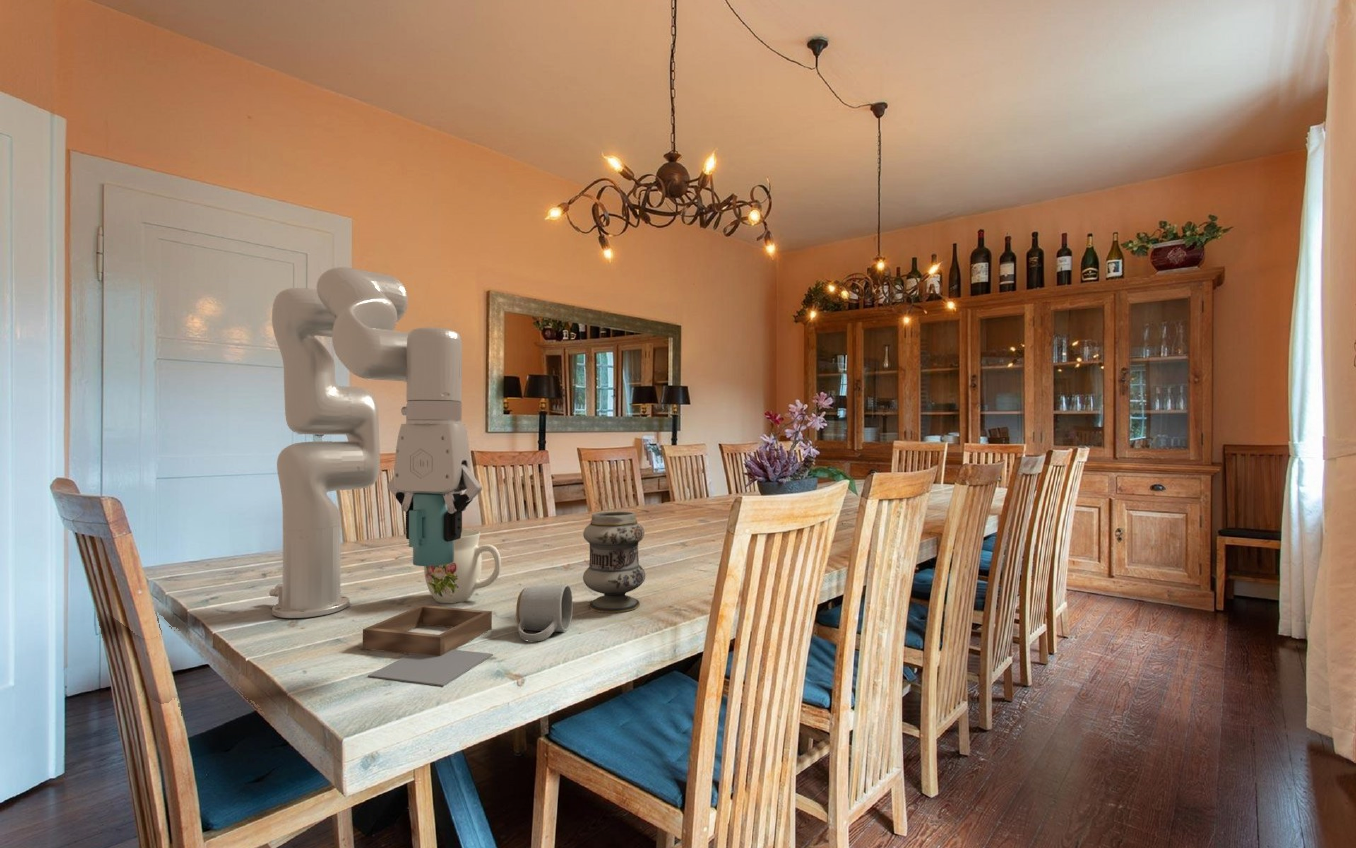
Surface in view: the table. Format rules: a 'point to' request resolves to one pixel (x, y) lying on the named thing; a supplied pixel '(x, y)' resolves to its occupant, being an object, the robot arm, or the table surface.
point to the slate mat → (431, 667)
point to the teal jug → (429, 531)
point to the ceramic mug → (544, 610)
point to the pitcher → (461, 570)
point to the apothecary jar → (614, 560)
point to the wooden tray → (398, 640)
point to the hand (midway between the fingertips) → (433, 537)
